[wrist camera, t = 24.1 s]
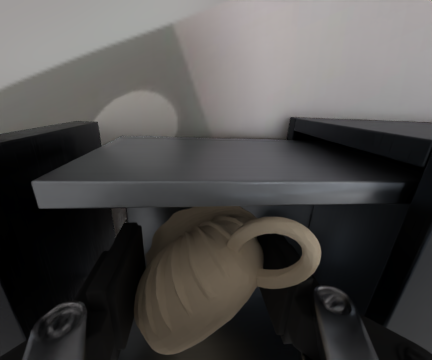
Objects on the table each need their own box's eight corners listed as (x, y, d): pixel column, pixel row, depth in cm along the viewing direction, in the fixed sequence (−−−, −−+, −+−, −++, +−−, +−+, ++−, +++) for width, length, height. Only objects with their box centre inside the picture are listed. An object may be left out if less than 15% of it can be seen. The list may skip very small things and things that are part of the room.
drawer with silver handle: (-2, 283, 15) (-189, 458, 8) (-74, 116, 11) (-618, 147, 4) (299, 267, 17) (376, 386, 10) (331, 129, 13) (496, 161, 6)
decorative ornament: (123, 252, 11) (67, 372, 6) (247, 158, 10) (300, 214, 5) (173, 292, 13) (160, 416, 8) (288, 213, 11) (361, 299, 6)
